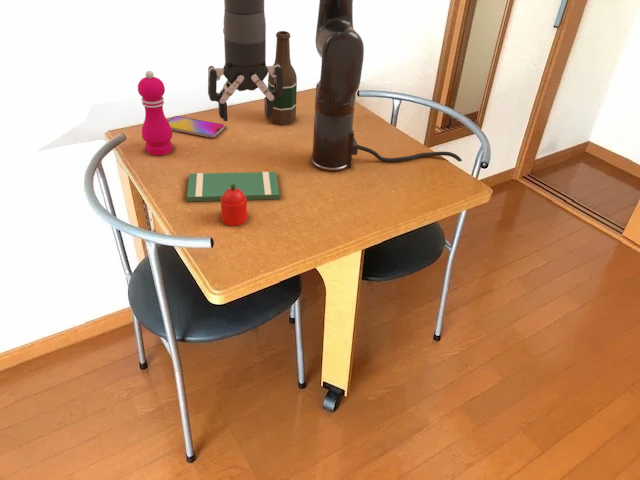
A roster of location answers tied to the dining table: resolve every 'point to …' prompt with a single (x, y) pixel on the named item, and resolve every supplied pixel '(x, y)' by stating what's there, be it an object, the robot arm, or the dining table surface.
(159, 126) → the pepper mill
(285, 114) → the beer bottle
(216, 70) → the robot arm
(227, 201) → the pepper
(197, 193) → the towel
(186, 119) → the smartphone
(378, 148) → the dining table surface
